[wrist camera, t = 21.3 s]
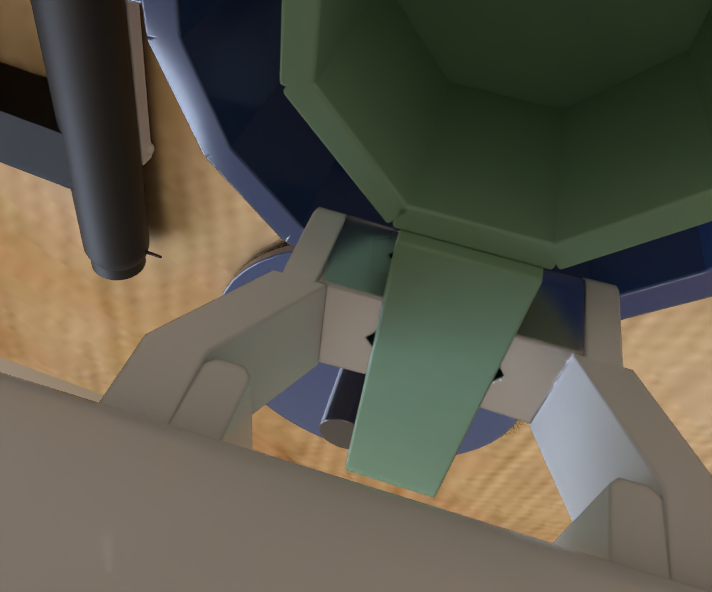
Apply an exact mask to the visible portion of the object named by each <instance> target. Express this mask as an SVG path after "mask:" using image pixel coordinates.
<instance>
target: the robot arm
mask: <svg viewBox="0 0 712 592" xmlns="http://www.w3.org/2000/svg"><path fill="white" fill-rule="evenodd" d="M399 231H400V229H396V228H393V227H389V226H386V225H382V224H379V223H375V222H372V221H369V220H365V219H362V218H358V217H355V216H351V215H349V216H348V215H346V214H343V213H339V212H336V211H332V210H329V209H325V208H322V207H318V208H317V209H316V210H315V211H314V212H313V214H312V216H311V218H310V220H309V222H308V223H307V225H306V227H305V229H304V231H303V233H302V235H301V237H300V239H299V241H298V243H297V245H296V247H295V249H294V251H293V252H292V254H291V256H290V258H289V260H288V262H287V264H286V266H285V268H284V270H283V272H279V271H275V270H273V271H271V272H269V273H267V274H265V275H263V276H261V277H259V278H257V279H255V280H253V281H251V282H249V283H247V284H245V285H243V286H241V287H239V288H237V289H235V290H233V291H231V292H229V293H227V294H225V295H223V296H221V297H219V298H217V299H215V300H213V301H211V302H209V303H207V304H205V305H203V306H201V307H199V308H197V309H195V310H193V311H191V312H189V313H187V314H185V315H183V316H181V317H179V318H177V319H175V320H173V321H171V322H169V323H167V324H165V325H163V326H161V327H159V328H157V329H155V330H153V331H151V332H149V333H147V334H145V336H144V337H143V339H142V340H141V342H140V343H139V344H138V346H137V347H136V349H135V350H134V352H133V353H132V355H131V356H130V358H129V359H128V361H127V362H126V364H125V365H124V367H123V368H122V370H121V371H120V372H119V374H118V375H117V377H116V378H115V380H114V381H113V383H112V384H111V386H110V387H109V389H108V390H107V392H106V393H105V395H104V396H103V398H102V399H101V400H100V402H99V403H98V402H95V401H92V400H88V399H85V398H82V397H79V396H76V395H72V394H69V393H66V392H63V391H59V390H56V389H53V388H50V387H46V386H43V385H40V384H37V383H34V382H30V381H27V380H24V379H21V378H17V377H14V376H11V375H8V374H5V373H1V372H0V592H712V475H711V474H710V472H709V471H708V470H707V468H706V467H705V466H704V464H703V463H702V462H701V460H700V459H699V458H698V456H697V455H696V454H695V452H694V451H693V450H692V448H691V447H690V446H689V444H688V443H687V442H686V440H685V439H684V438H683V436H682V435H681V434H680V432H679V431H678V430H677V428H676V427H675V426H674V424H673V423H672V422H671V420H670V419H669V418H668V416H667V415H666V414H665V412H664V411H663V410H662V408H661V407H660V406H659V404H658V403H657V402H656V400H655V399H654V398H653V396H652V395H651V394H650V392H649V391H648V390H647V388H646V387H645V386H644V384H643V383H642V382H641V380H640V379H639V378H638V376H637V375H636V374H635V372H634V371H633V370H631V369H627V368H624V367H623V357H622V338H621V318H620V299H619V290H618V288H617V287H616V285H612V284H608V283H604V282H600V281H596V280H592V279H587V278H580V277H577V276H573V275H569V274H565V273H561V272H557V271H554V270H550V269H546V268H543V279H542V283H541V285H540V287H539V289H538V291H537V293H536V295H535V297H534V299H533V301H532V303H531V305H530V307H529V309H528V311H527V313H526V315H525V317H524V319H523V321H522V323H521V325H520V327H519V329H518V331H517V333H516V335H515V337H514V339H513V341H512V343H511V345H510V347H509V349H508V351H507V353H506V355H505V357H504V359H503V361H502V363H501V365H500V367H499V369H498V371H497V373H496V376H495V378H494V380H493V381H492V383H491V385H490V387H489V389H488V391H487V393H486V395H485V397H484V399H483V401H482V403H481V405H480V408H483V409H486V410H489V411H492V412H495V413H498V414H502V415H505V416H508V417H511V418H514V419H517V420H520V421H524V422H527V423H530V428H531V431H532V433H533V435H534V437H535V440H536V442H537V444H538V446H539V448H540V451H541V453H542V455H543V457H544V460H545V462H546V464H547V466H548V468H549V471H550V473H551V475H552V477H553V479H554V482H555V484H556V486H557V488H558V491H559V493H560V495H561V497H562V499H563V502H564V504H565V506H566V508H567V511H568V513H569V515H570V517H571V519H572V523H571V524H570V525H569V526H568V527H567V529H566V530H565V531H564V532H563V533H562V534H561V535H560V536H559V537H558V538H557V539H556V540H555V541H554V542H553V543H551V542H547V541H544V540H541V539H538V538H535V537H531V536H528V535H525V534H522V533H518V532H515V531H512V530H509V529H505V528H502V527H499V526H496V525H492V524H489V523H486V522H483V521H480V520H476V519H473V518H470V517H467V516H463V515H460V514H457V513H454V512H450V511H447V510H444V509H441V508H437V507H434V506H431V505H428V504H424V503H421V502H418V501H415V500H412V499H408V498H405V497H402V496H399V495H395V494H392V493H389V492H386V491H382V490H379V489H376V488H373V487H370V486H366V485H363V484H360V483H357V482H353V481H350V480H347V479H344V478H340V477H337V476H334V475H331V474H327V473H324V472H321V471H318V470H315V469H311V468H308V467H305V466H302V465H298V464H295V463H292V462H289V461H285V460H282V459H279V458H276V457H273V456H269V455H266V454H263V453H260V452H256V451H253V450H252V414H254V413H255V412H256V411H258V410H259V409H260V408H262V407H263V406H264V405H265V404H267V403H268V402H269V401H271V400H272V399H273V398H275V397H276V396H277V395H279V394H280V393H281V392H283V391H284V390H285V389H286V388H288V387H289V386H290V385H292V384H293V383H294V382H296V381H297V380H298V379H300V378H301V377H302V376H303V375H305V374H306V373H307V372H309V371H310V370H311V369H313V368H314V367H315V366H317V365H318V362H321V363H324V364H328V365H332V366H336V367H340V368H344V369H347V370H351V371H355V372H359V373H363V374H366V373H367V369H368V364H369V360H370V355H371V351H372V345H373V341H374V336H375V332H376V329H377V324H378V320H379V316H380V311H381V307H382V302H383V296H384V292H385V287H386V283H387V278H388V274H389V270H390V265H391V261H392V256H393V252H394V247H395V243H396V240H397V237H398V234H399Z"/></svg>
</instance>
